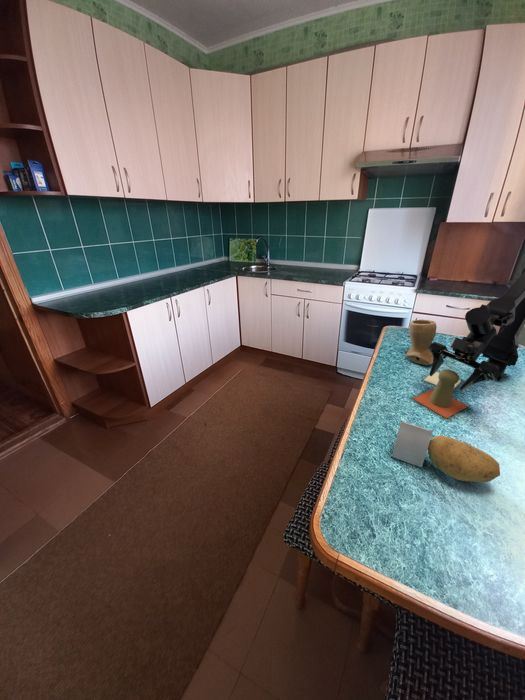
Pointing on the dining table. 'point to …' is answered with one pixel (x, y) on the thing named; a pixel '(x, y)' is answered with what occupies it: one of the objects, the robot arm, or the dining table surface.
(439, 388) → the cork
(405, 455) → the grey rectangular block
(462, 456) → the potato
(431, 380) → the cream mat
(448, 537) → the dining table surface
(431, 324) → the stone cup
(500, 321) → the robot arm
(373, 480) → the dining table surface
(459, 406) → the terracotta mat
